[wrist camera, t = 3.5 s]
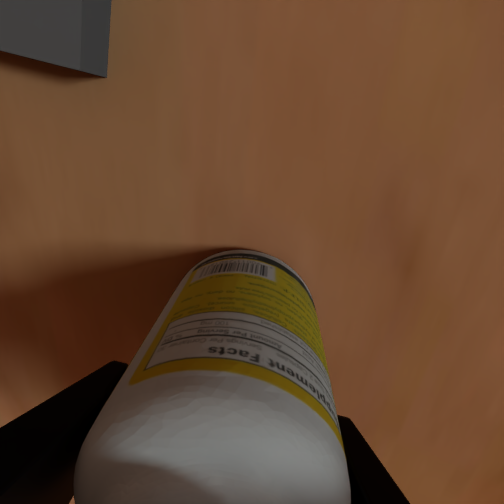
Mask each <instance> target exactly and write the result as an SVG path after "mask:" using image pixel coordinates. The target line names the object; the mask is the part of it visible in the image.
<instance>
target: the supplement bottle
mask: <svg viewBox="0 0 504 504" xmlns="http://www.w3.org/2000/svg"><path fill="white" fill-rule="evenodd" d="M73 487H74V500H75V504H351V489H350V482H349V476H348V469H347V462H346V456H345V451H344V446H343V441H342V437H341V432H340V427H339V422H338V417H337V413H336V407H335V402H334V397H333V392H332V387H331V383H330V378H329V373H328V368H327V363H326V358H325V353H324V348H323V343H322V338H321V334H320V329H319V324H318V319H317V315H316V311H315V306H314V303H313V300H312V297H311V294H310V292H309V290H308V288H307V286H306V285H305V283H304V281H303V280H302V279H301V278H300V276H299V275H298V274H297V273H296V272H295V271H294V270H293V269H292V268H290V267H289V266H288V265H287V264H285V263H284V262H282V261H281V260H279V259H277V258H275V257H273V256H271V255H268V254H265V253H261V252H257V251H252V250H231V251H224V252H221V253H217V254H214V255H212V256H210V257H207V258H206V259H204V260H202V261H201V262H199V263H198V264H196V265H195V266H194V267H193V268H192V269H191V270H190V271H189V272H188V273H187V274H186V275H185V277H184V278H183V279H182V281H181V282H180V284H179V285H178V287H177V288H176V290H175V291H174V293H173V294H172V296H171V298H170V299H169V301H168V303H167V304H166V306H165V308H164V309H163V311H162V312H161V314H160V315H159V317H158V319H157V321H156V322H155V324H154V325H153V327H152V328H151V330H150V332H149V333H148V335H147V337H146V338H145V340H144V341H143V343H142V345H141V346H140V348H139V349H138V351H137V353H136V354H135V356H134V358H133V359H132V361H131V363H130V364H129V366H128V367H127V369H126V371H125V372H124V374H123V376H122V377H121V379H120V380H119V382H118V384H117V385H116V387H115V389H114V390H113V392H112V394H111V395H110V397H109V398H108V400H107V402H106V403H105V405H104V406H103V408H102V410H101V412H100V413H99V415H98V417H97V419H96V420H95V422H94V424H93V426H92V427H91V429H90V431H89V432H88V434H87V436H86V438H85V440H84V442H83V444H82V446H81V449H80V452H79V455H78V458H77V462H76V465H75V471H74V482H73Z"/></svg>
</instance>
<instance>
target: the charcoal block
mask: <svg viewBox="0 0 504 504" xmlns="http://www.w3.org/2000/svg"><path fill="white" fill-rule="evenodd" d="M110 15H111V0H0V51H3V52H7V53H11V54H15V55H19V56H23V57H27V58H31V59H35V60H39V61H43V62H47V63H51V64H55V65H59V66H63V67H67V68H71V69H75V70H78V71H82V72H86V73H90V74H94V75H98V76H102V77H106V78H107V65H108V48H109V31H110Z"/></svg>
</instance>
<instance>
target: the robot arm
mask: <svg viewBox="0 0 504 504" xmlns="http://www.w3.org/2000/svg"><path fill="white" fill-rule="evenodd" d="M127 367H128V364H126V363H122V362H118V361H111V362H110V363H108V364H106V365H105V366H103V367H101V368H100V369H98V370H96V371H95V372H93V373H91V374H89V375H88V376H86V377H84V378H83V379H81V380H79V381H78V382H76V383H74V384H73V385H71V386H69V387H68V388H66V389H64V390H63V391H61V392H59V393H58V394H56V395H54V396H53V397H51V398H49V399H48V400H46V401H44V402H43V403H41V404H39V405H38V406H36V407H34V408H33V409H31V410H29V411H28V412H26V413H24V414H23V415H21V416H19V417H18V418H16V419H14V420H13V421H11V422H9V423H8V424H6V425H4V426H3V427H1V428H0V504H69V502H70V501H71V499H72V497H73V496H74V487H73V482H74V471H75V465H76V462H77V458H78V455H79V452H80V449H81V446H82V444H83V442H84V440H85V438H86V436H87V434H88V432H89V431H90V429H91V427H92V426H93V424H94V422H95V420H96V419H97V417H98V415H99V413H100V412H101V410H102V408H103V406H104V405H105V403H106V402H107V400H108V398H109V397H110V395H111V394H112V392H113V390H114V389H115V387H116V385H117V384H118V382H119V380H120V379H121V377H122V376H123V374H124V372H125V371H126V369H127ZM337 417H338V422H339V427H340V432H341V437H342V441H343V446H344V451H345V456H346V462H347V469H348V476H349V482H350V489H351V504H410V503H409V501H408V500H407V499H406V497H405V496H404V494H403V493H402V491H401V490H400V489H399V487H398V486H397V484H396V483H395V482H394V480H393V479H392V477H391V476H390V474H389V473H388V472H387V470H386V469H385V467H384V466H383V465H382V463H381V462H380V460H379V459H378V457H377V456H376V455H375V453H374V452H373V450H372V449H371V447H370V446H369V445H368V443H367V442H366V440H365V439H364V438H363V436H362V435H361V433H360V432H359V430H358V429H357V428H356V426H355V425H354V423H353V422H352V421H351V420H350V419H349V418H348V417H344V416H340V415H337Z"/></svg>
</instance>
